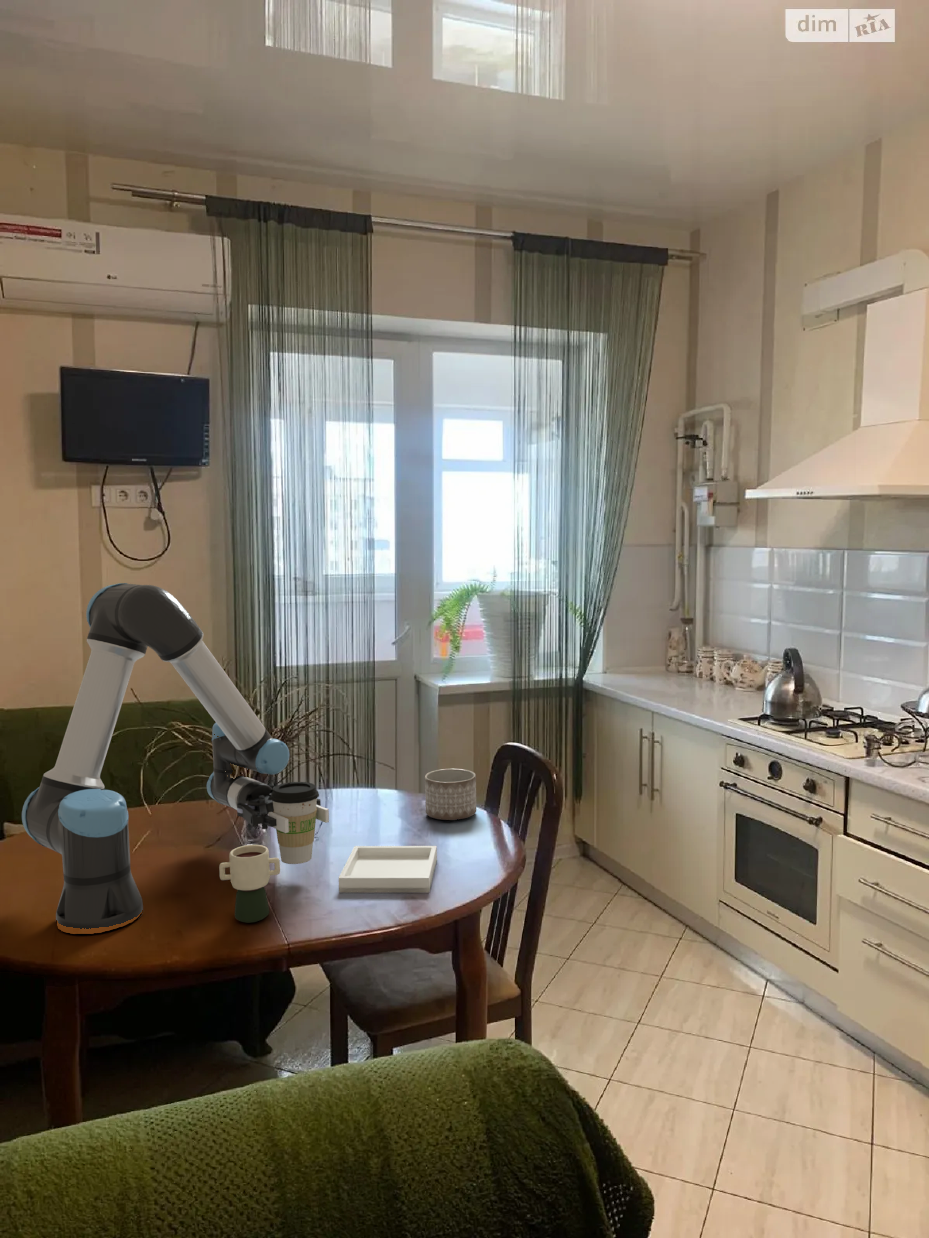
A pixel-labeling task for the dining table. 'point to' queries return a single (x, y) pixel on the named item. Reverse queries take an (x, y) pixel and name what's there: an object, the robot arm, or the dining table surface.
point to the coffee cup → (296, 820)
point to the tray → (389, 869)
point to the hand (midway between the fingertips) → (307, 820)
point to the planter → (450, 794)
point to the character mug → (250, 880)
